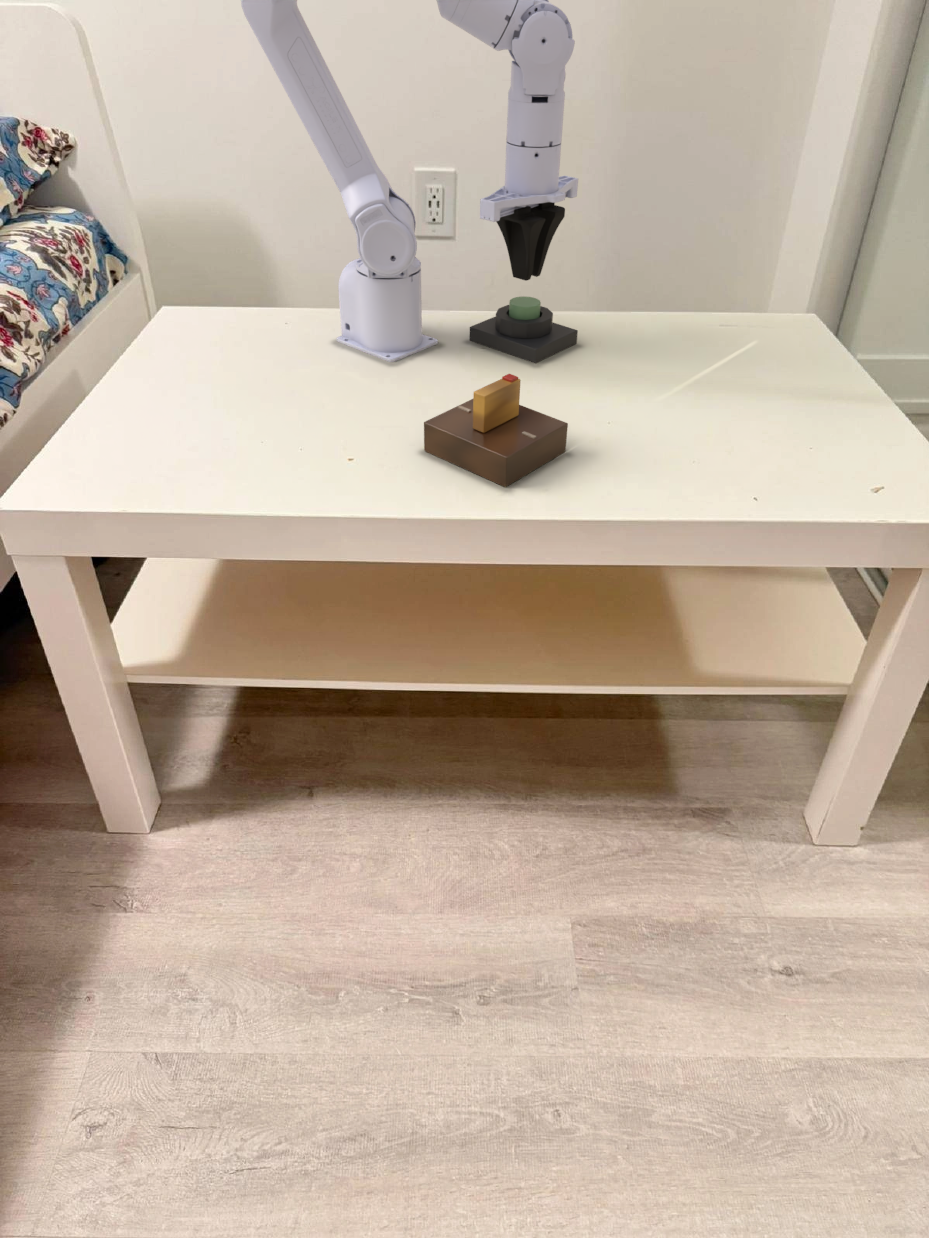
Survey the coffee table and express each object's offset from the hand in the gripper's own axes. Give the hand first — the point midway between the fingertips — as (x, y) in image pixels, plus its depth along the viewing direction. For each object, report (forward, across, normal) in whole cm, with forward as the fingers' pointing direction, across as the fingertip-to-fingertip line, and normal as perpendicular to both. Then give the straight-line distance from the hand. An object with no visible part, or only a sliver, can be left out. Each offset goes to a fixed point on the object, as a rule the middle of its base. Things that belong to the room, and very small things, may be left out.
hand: (526, 276), depth 100 cm
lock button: (+5, 0, 0) cm, 5 cm away
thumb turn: (+5, -23, -15) cm, 28 cm away
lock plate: (+8, -23, -15) cm, 29 cm away
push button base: (+8, 0, 0) cm, 8 cm away
